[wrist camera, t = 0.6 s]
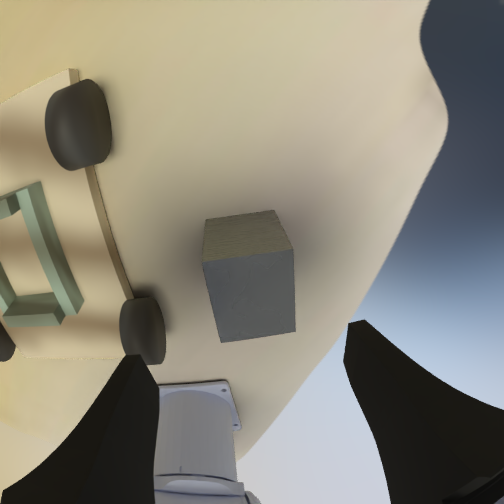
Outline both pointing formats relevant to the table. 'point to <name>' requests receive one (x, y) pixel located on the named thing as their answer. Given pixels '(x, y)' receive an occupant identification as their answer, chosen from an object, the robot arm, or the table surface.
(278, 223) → the block
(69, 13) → the table surface
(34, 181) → the chassis
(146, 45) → the table surface
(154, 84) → the table surface
